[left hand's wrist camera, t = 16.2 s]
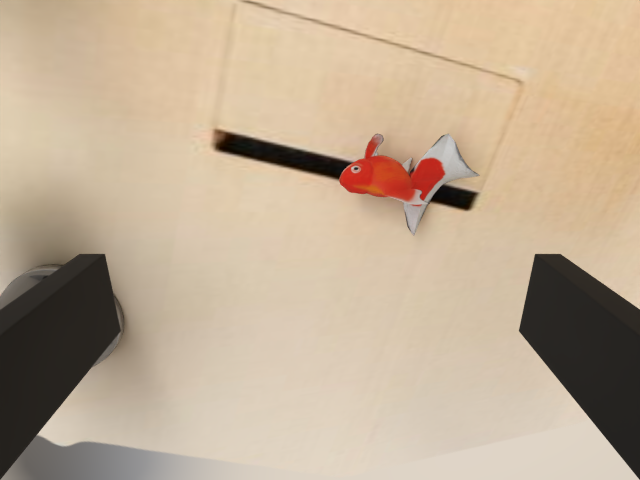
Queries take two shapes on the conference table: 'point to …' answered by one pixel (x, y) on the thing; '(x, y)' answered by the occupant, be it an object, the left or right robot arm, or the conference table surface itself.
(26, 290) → the left robot arm
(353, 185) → the fish
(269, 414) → the conference table surface
